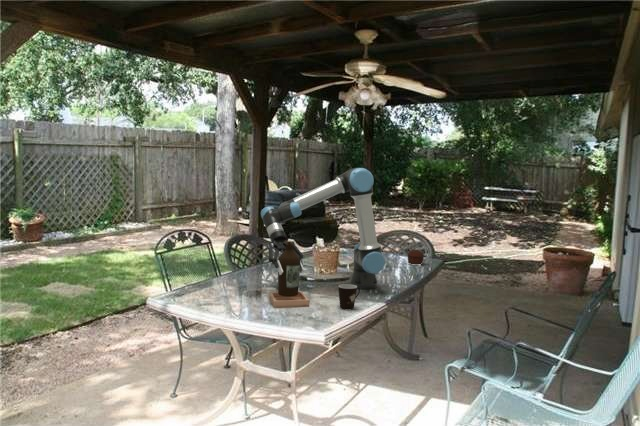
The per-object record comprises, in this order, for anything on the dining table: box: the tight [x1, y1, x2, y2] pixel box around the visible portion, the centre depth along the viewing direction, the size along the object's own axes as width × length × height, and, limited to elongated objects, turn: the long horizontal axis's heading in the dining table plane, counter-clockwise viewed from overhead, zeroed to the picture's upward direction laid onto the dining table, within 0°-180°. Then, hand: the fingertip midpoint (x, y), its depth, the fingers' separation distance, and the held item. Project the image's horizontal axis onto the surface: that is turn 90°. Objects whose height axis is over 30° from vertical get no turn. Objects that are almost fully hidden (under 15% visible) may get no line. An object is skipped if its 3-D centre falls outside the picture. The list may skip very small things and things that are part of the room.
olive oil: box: [277, 240, 300, 297], centre depth 234 cm, size 11×11×25 cm
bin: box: [268, 291, 310, 309], centre depth 236 cm, size 16×16×3 cm
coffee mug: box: [337, 283, 361, 310], centre depth 230 cm, size 12×9×10 cm
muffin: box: [407, 249, 425, 264], centre depth 341 cm, size 12×11×10 cm
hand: (292, 272), depth 232 cm, fingers closed on olive oil, 10 cm apart
